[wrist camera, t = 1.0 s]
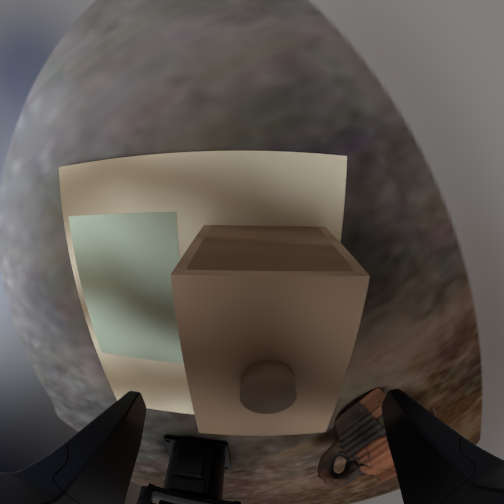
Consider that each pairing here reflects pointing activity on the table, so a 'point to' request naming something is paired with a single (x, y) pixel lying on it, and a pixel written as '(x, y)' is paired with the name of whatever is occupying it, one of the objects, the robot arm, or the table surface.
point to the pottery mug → (359, 444)
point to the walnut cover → (266, 326)
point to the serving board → (174, 243)
